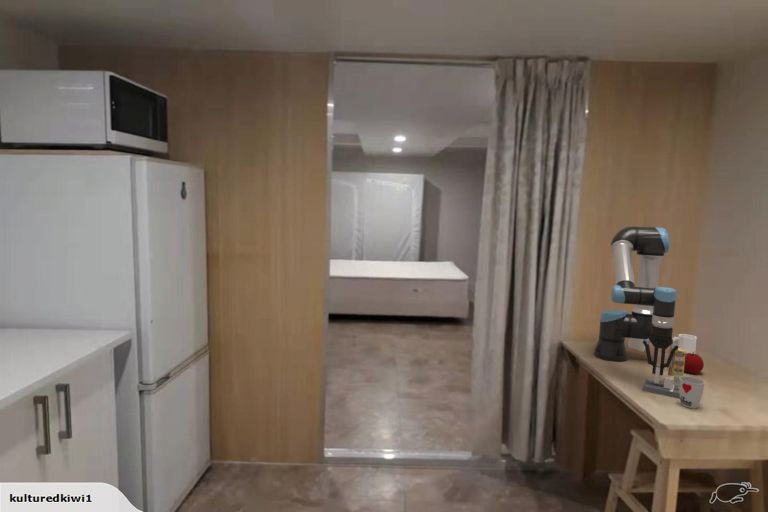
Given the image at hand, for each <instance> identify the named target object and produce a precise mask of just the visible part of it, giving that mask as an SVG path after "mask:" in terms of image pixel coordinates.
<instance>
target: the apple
mask: <svg viewBox="0 0 768 512" xmlns="http://www.w3.org/2000/svg"><path fill="white" fill-rule="evenodd" d="M693 353H694V352H693ZM703 369H704V360H703V358H702V357H701V355H698V354H696V353H695V354H692V353H686V354H685V364H684V372H686V373H688V374H694V375H695V374H699V373H701V372H702V371H703Z"/></svg>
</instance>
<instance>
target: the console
mask: <svg viewBox="0 0 768 512" xmlns="http://www.w3.org/2000/svg"><path fill="white" fill-rule="evenodd" d="M654 382H655V380H649V379H645V380H644V381H643V384H642V389H641V390H642V391H644V392H648V393H652V394H656V395H657V394H658V395H661V396H667V397H671V398H675V399H679V398H680V395H679V386H676V385H673V389H667V388H664V382H660V381H659V384H658V383H654Z"/></svg>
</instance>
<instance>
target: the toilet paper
mask: <svg viewBox="0 0 768 512" xmlns="http://www.w3.org/2000/svg"><path fill="white" fill-rule="evenodd" d="M643 340H644V339H635V338H628V344H627V346H628V347H629V348H630V349H633V350H635V351H639V352H642V353H644V352H645V350H646V349H645V345H644V344H643Z"/></svg>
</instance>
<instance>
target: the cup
mask: <svg viewBox="0 0 768 512" xmlns="http://www.w3.org/2000/svg"><path fill="white" fill-rule="evenodd" d="M705 382H706V381H704V380H703V379H700V378H698V377H694V376H689V375H687V376H686V375H684V376H681V377H679V395H680V399H679V400H680V403H681V405H682V406H683V407H686V408H688V407H689V409H697V408H698V406H699V405H700V403H701V400H702V396H703V393H704V389H705V388H704V387H705Z"/></svg>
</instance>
